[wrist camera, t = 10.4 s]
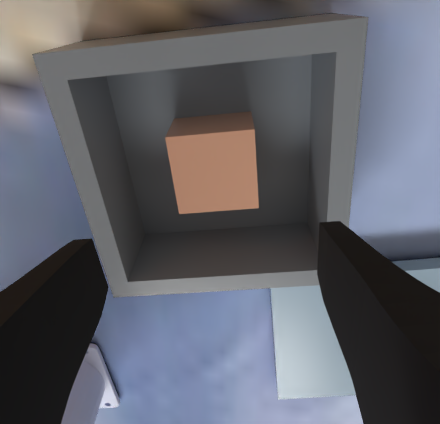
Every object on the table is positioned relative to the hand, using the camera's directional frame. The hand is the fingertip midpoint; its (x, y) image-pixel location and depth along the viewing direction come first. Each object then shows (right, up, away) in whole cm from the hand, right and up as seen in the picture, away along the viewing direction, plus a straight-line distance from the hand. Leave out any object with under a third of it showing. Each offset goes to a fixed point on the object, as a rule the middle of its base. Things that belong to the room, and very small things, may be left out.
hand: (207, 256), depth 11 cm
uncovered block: (0, +5, +8) cm, 9 cm away
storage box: (0, +5, +9) cm, 10 cm away
